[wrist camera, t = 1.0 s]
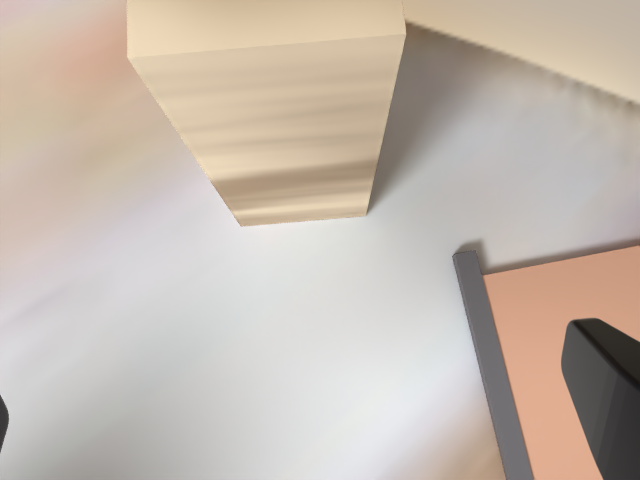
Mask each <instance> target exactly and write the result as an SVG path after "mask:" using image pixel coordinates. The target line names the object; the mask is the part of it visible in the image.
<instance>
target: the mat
mask: <svg viewBox="0 0 640 480" xmlns="http://www.w3.org/2000/svg"><path fill="white" fill-rule="evenodd" d="M452 257H453V261H454V265H455V269H456V273H457V278H458V282H459V286H460V290H461V294H462V298H463V302H464V307H465V311H466V315H467V319H468V323H469V327H470V331H471V335H472V340H473V344H474V348H475V352H476V356H477V360H478V364H479V368H480V373H481V377H482V381H483V385H484V389H485V393H486V397H487V401H488V406H489V410H490V414H491V418H492V422H493V426H494V430H495V434H496V439H497V443H498V447H499V451H500V455H501V459H502V463H503V468H504V472H505V476H506V480H603V478H602V476H601V474H600V472H599V470H598V468H597V465H596V463H595V461H594V458H593V456H592V453H591V451H590V448H589V445H588V442H587V440H586V437H585V434H584V432H583V429H582V426H581V423H580V421H579V418H578V415H577V413H576V410H575V407H574V404H573V402H572V399H571V396H570V393H569V391H568V388H567V385H566V383H565V380H564V377H563V374H562V370H561V356H562V350H563V344H564V338H565V333H566V328H567V325H568V323H569V322H570V321H571V320H573V319H583V318H598V319H600V320H602V321H604V322H606V323H608V324H610V325H611V326H613V327H615V328H617V329H618V330H620V331H622V332H624V333H625V334H627V335H629V336H631V337H632V338H634V339H636V340H638V341H639V342H640V245H639V246H634V247H629V248H624V249H619V250H613V251H608V252H603V253H598V254H593V255H587V256H582V257H577V258H572V259H566V260H561V261H556V262H551V263H546V264H540V265H535V266H530V267H525V268H520V269H514V270H509V271H504V272H499V273H494V274H488V275H483V276H482V274H481V270H480V266H479V262H478V258H477V254H476V250H473V251H468V252H463V253H457V254H454V255H453V256H452Z"/></svg>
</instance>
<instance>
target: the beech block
mask: <svg viewBox="0 0 640 480" xmlns="http://www.w3.org/2000/svg"><path fill="white" fill-rule="evenodd" d="M405 38H406V27H405V19H404V12H403V3H402V0H127V56H128V59H129V61H130V62H131V64H132V65H133V67H134V68H135V70H136V71H137V73H138V74H139V76H140V77H141V79H142V80H143V82H144V83H145V85H146V86H147V88H148V89H149V91H150V92H151V94H152V95H153V97H154V98H155V100H156V101H157V103H158V104H159V106H160V107H161V109H162V110H163V111H164V113H165V114H166V116H167V117H168V119H169V120H170V122H171V123H172V125H173V126H174V128H175V129H176V131H177V132H178V134H179V135H180V137H181V138H182V140H183V141H184V143H185V144H186V146H187V147H188V149H189V150H190V152H191V153H192V155H193V156H194V158H195V159H196V160H197V162H198V163H199V165H200V166H201V168H202V169H203V171H204V172H205V174H206V175H207V177H208V178H209V180H210V181H211V183H212V184H213V186H214V187H215V189H216V190H217V192H218V193H219V195H220V196H221V198H222V199H223V201H224V202H225V204H226V205H227V207H228V208H229V210H230V211H231V212H232V214H233V215H234V217H235V218H236V220H237V221H238V223H239V224H240V226H253V225H264V224H276V223H288V222H300V221H311V220H323V219H335V218H346V217H358V216H366V213H367V209H368V204H369V200H370V195H371V191H372V186H373V182H374V177H375V173H376V168H377V164H378V159H379V155H380V150H381V146H382V141H383V137H384V132H385V128H386V123H387V119H388V114H389V110H390V105H391V101H392V96H393V92H394V87H395V83H396V78H397V74H398V69H399V65H400V60H401V56H402V51H403V47H404V42H405Z"/></svg>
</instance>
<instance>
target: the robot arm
mask: <svg viewBox="0 0 640 480" xmlns="http://www.w3.org/2000/svg"><path fill="white" fill-rule="evenodd" d="M561 370H562V374H563V377H564V380H565V383H566V385H567V388H568V391H569V393H570V396H571V399H572V402H573V404H574V407H575V410H576V413H577V415H578V418H579V421H580V423H581V426H582V429H583V432H584V434H585V437H586V440H587V442H588V445H589V448H590V451H591V453H592V456H593V458H594V461H595V463H596V465H597V468H598V470H599V472H600V474H601V476H602V478H603V480H640V342H639V341H638V340H636V339H634V338H632V337H631V336H629V335H627V334H625V333H624V332H622V331H620V330H618V329H617V328H615V327H613V326H611V325H610V324H608V323H606V322H604V321H602V320H600V319H598V318H583V319H573V320H571V321H570V322H569V323H568V325H567V328H566V333H565V338H564V344H563V350H562V356H561ZM8 422H9V414H8V410H7V407H6V405H5V403H4V401H3V399H2V397H1V395H0V452H1V449H2V445H3V442H4V438H5V435H6V431H7V428H8Z"/></svg>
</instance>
